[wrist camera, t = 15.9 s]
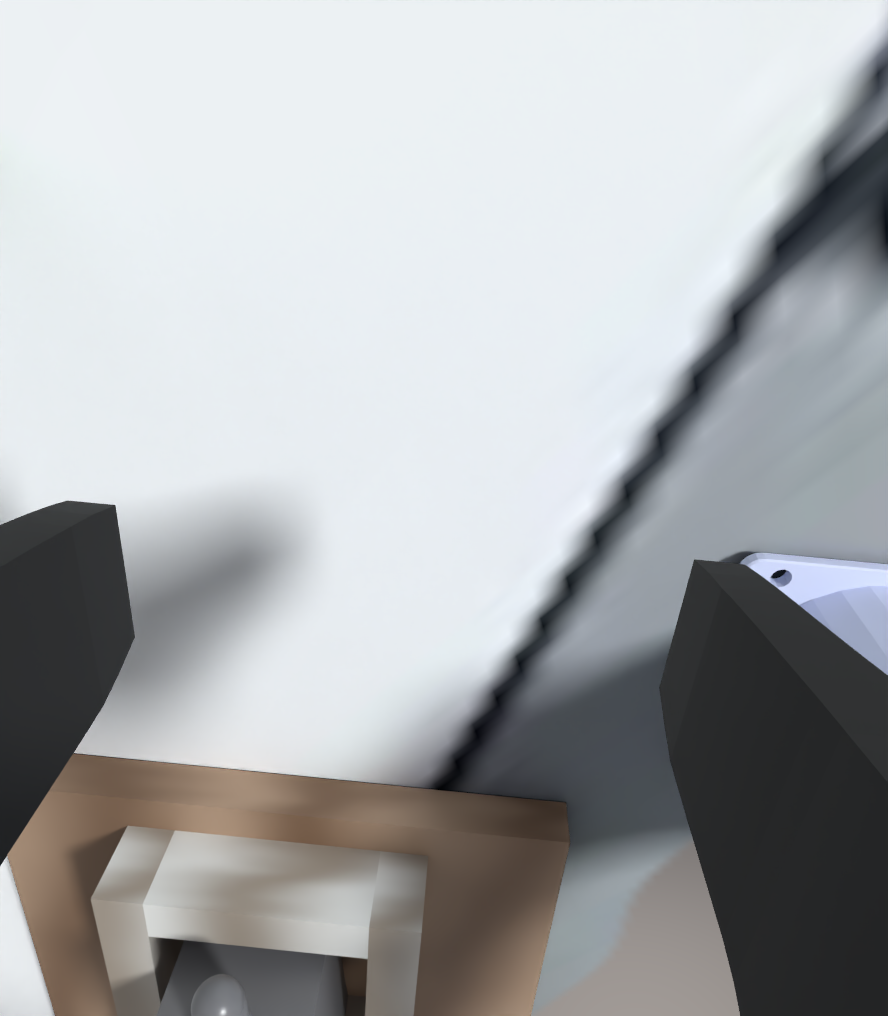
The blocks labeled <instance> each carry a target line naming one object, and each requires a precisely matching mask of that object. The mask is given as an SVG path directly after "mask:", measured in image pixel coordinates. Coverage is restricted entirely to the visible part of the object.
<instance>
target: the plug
mask: <svg viewBox="0 0 888 1016" xmlns="http://www.w3.org/2000/svg"><path fill="white" fill-rule="evenodd" d="M347 1000H348V992H347V987H346V981H345V975H344V970H343V964H342V958H341V956H334V955H324V954H314V953H305V952H295V951H285V950H275V949H266V948H256V947H246V946H237V945H227V944H217V943H207V942H198V941H188V940H184V942H183V945H182V948H181V950H180V953H179V956H178V958H177V961H176V964H175V967H174V969H173V972H172V975H171V977H170V980H169V983H168V986H167V988H166V991H165V994H164V996H163V999H162V1002H161V1005H160V1007H159V1010H158V1013H157V1015H156V1016H345V1012H346V1006H347Z"/></svg>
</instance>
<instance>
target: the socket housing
mask: <svg viewBox="0 0 888 1016" xmlns="http://www.w3.org/2000/svg"><path fill="white" fill-rule="evenodd" d="M569 846H570V836H569V826H568V817H567V807H566V803H564V802H554V801H543V800H533V799H523V798H513V797H503V796H493V795H483V794H473V793H463V792H453V791H443V790H433V789H423V788H413V787H402V786H392V785H382V784H372V783H362V782H352V781H342V780H332V779H322V778H312V777H302V776H292V775H282V774H271V773H261V772H251V771H241V770H231V769H221V768H211V767H201V766H191V765H181V764H171V763H161V762H151V761H141V760H130V759H120V758H110V757H100V756H90V755H80V754H72V756H71V758H70V759H69V761H68V762H67V764H66V765H65V767H64V768H63V770H62V772H61V773H60V775H59V776H58V778H57V779H56V781H55V782H54V784H53V785H52V787H51V788H50V790H49V792H48V793H47V795H46V796H45V798H44V799H43V801H42V802H41V804H40V805H39V807H38V808H37V810H36V812H35V813H34V815H33V816H32V818H31V819H30V821H29V822H28V824H27V825H26V827H25V829H24V830H23V832H22V833H21V835H20V836H19V838H18V839H17V841H16V842H15V844H14V845H13V847H12V849H11V850H10V852H9V853H8V855H7V856H8V859H9V863H10V866H11V869H12V873H13V876H14V880H15V883H16V886H17V890H18V893H19V896H20V900H21V903H22V906H23V910H24V913H25V916H26V920H27V923H28V926H29V930H30V933H31V936H32V940H33V943H34V946H35V950H36V953H37V956H38V960H39V963H40V967H41V970H42V973H43V977H44V980H45V983H46V987H47V990H48V993H49V997H50V1000H51V1003H52V1007H53V1010H54V1013H55V1016H156V1015H157V1013H158V1010H159V1007H160V1005H161V1002H162V999H163V996H164V994H165V991H166V988H167V986H168V983H169V980H170V977H171V975H172V972H173V969H174V967H175V964H176V961H177V958H178V956H179V953H180V950H181V948H182V945H183V942H184V940H188V941H198V942H207V943H217V944H227V945H237V946H246V947H256V948H266V949H275V950H285V951H295V952H305V953H314V954H324V955H334V956H341V958H342V964H343V970H344V975H345V981H346V987H347V992H348V1000H347V1006H346V1012H345V1016H531V1012H532V1008H533V1003H534V999H535V995H536V990H537V986H538V981H539V977H540V973H541V968H542V964H543V960H544V955H545V951H546V946H547V942H548V938H549V933H550V929H551V925H552V920H553V916H554V911H555V907H556V903H557V898H558V894H559V890H560V885H561V881H562V876H563V872H564V868H565V863H566V859H567V854H568V850H569Z"/></svg>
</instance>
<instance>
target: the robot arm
mask: <svg viewBox="0 0 888 1016" xmlns="http://www.w3.org/2000/svg"><path fill="white" fill-rule="evenodd" d="M778 570H787V571H786V572H785V574H784V575H783V576H781V577H779V578H771V576H772V574H773V573H774V572H776V571H778ZM134 638H135V635H134V628H133V621H132V615H131V608H130V601H129V594H128V588H127V581H126V574H125V567H124V561H123V554H122V547H121V540H120V534H119V527H118V520H117V513H116V507H115V505H108V504H97V503H87V502H76V501H64V502H61V503H58V504H54V505H51V506H48V507H45V508H42V509H40V510H37V511H34V512H32V513H29V514H26V515H24V516H21V517H19V518H16V519H14V520H11V521H9V522H7V523H4V524H2V525H0V866H1V864H2V862H3V861H4V859H5V858H6V856H7V855H8V853H9V852H10V850H11V849H12V847H13V845H14V844H15V842H16V841H17V839H18V838H19V836H20V835H21V833H22V832H23V830H24V829H25V827H26V825H27V824H28V822H29V821H30V819H31V818H32V816H33V815H34V813H35V812H36V810H37V808H38V807H39V805H40V804H41V802H42V801H43V799H44V798H45V796H46V795H47V793H48V792H49V790H50V788H51V787H52V785H53V784H54V782H55V781H56V779H57V778H58V776H59V775H60V773H61V772H62V770H63V768H64V767H65V765H66V764H67V762H68V761H69V759H70V758H71V756H72V754H73V753H74V751H75V750H76V748H77V747H78V745H79V743H80V742H81V740H82V739H83V737H84V736H85V734H86V732H87V731H88V729H89V728H90V726H91V725H92V723H93V721H94V720H95V718H96V717H97V715H98V713H99V712H100V710H101V708H102V707H103V705H104V703H105V701H106V699H107V697H108V695H109V693H110V691H111V689H112V687H113V685H114V682H115V680H116V678H117V676H118V674H119V672H120V670H121V667H122V665H123V663H124V660H125V658H126V656H127V654H128V651H129V649H130V647H131V644H132V642H133V640H134ZM659 688H660V695H661V702H662V710H663V717H664V724H665V731H666V737H667V743H668V749H669V755H670V761H671V764H672V768H673V771H674V775H675V779H676V782H677V786H678V789H679V793H680V796H681V799H682V803H683V806H684V810H685V813H686V817H687V820H688V824H689V827H690V830H691V834H692V837H693V840H694V844H695V847H696V850H697V854H698V857H699V860H700V864H701V867H702V871H703V874H704V877H705V881H706V884H707V887H708V890H709V894H710V897H711V900H712V904H713V907H714V911H715V914H716V917H717V921H718V924H719V928H720V931H721V934H722V938H723V941H724V945H725V949H726V953H727V957H728V961H729V965H730V969H731V973H732V977H733V981H734V986H735V990H736V996H737V1001H738V1006H739V1011H740V1016H888V564H879V563H868V562H857V561H847V560H836V559H825V558H815V557H804V556H793V555H783V554H772V553H754V554H751V555H749V556H747V557H746V558H744V559H743V560H742V561H741V563H740V564H736V563H725V562H715V561H704V560H694V562H693V566H692V570H691V574H690V577H689V581H688V585H687V588H686V592H685V596H684V599H683V603H682V607H681V610H680V614H679V618H678V621H677V625H676V629H675V632H674V636H673V640H672V643H671V647H670V651H669V654H668V658H667V662H666V665H665V669H664V673H663V676H662V680H661V684H660V687H659Z"/></svg>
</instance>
